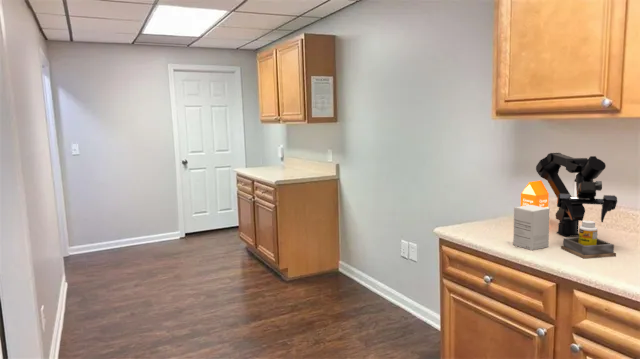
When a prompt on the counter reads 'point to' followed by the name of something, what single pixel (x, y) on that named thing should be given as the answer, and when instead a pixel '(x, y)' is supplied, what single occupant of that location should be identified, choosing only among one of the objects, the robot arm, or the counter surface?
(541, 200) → the orange juice
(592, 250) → the tray
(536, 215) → the supplement box
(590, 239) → the supplement bottle
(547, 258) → the counter surface
